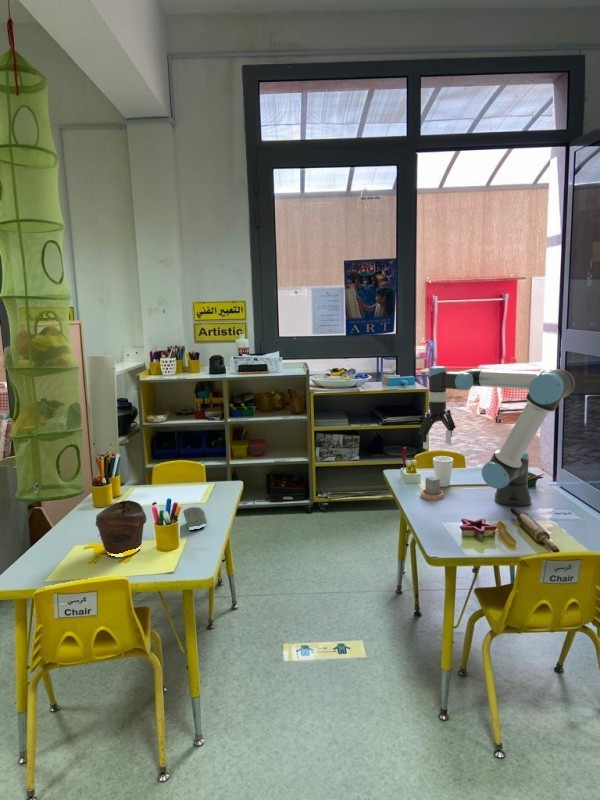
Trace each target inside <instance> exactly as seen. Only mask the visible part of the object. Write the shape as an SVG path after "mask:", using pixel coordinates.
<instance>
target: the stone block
mask: <svg viewBox="0 0 600 800" xmlns="http://www.w3.org/2000/svg"><path fill="white" fill-rule="evenodd" d="M440 487H441V486H440V479H438V478H436V477H435V476H433V475H431V476H427V477H425V488H424V489H425V494H427V495H439V494H440V490H441V489H440Z"/></svg>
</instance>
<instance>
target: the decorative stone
mask: <svg viewBox="0 0 600 800" xmlns="http://www.w3.org/2000/svg"><path fill="white" fill-rule="evenodd" d="M182 513H183V515H184V519H185V522H186V527H187V528H188V527H193V526H200V525H202V524H206V523H207V524H208V519H207V515H206V512H205V509H204V508H202V507H200V506H198V507H197V506H192V507H187V508H186V509H184V510H183V512H182Z"/></svg>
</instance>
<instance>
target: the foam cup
mask: <svg viewBox="0 0 600 800" xmlns="http://www.w3.org/2000/svg"><path fill="white" fill-rule="evenodd" d="M432 464H433V470H434V471H433V472H434V477H436V478H438V479H440V487H441V488H442V487H443V488H444V487H445V488H446V487H450V483H451V480H452V479H451V478H452V471H453V465H454V458H453V457H451V456H448V455H447V456H445V455H438V456H434V457H433V458H432Z"/></svg>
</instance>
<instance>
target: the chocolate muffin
mask: <svg viewBox="0 0 600 800" xmlns="http://www.w3.org/2000/svg"><path fill="white" fill-rule="evenodd" d="M147 520H148V519H147V514H146V513H145V510H144V508H143V506H142V505H141V503H139V502H137V501H134V500H129V499H128V500H121V501H118V502H116V503H113V504H111V505H109V506H107V507H106V508H104V509H103V510H102V511H100V512H99V513H98V514H96V518H95V526H96V527H97V529H98V533H99V535H97V538H99V537H100V540H101V542H102V546H103V548H104V551H105V550H106V551H107V552H109V553H113V554H119V553H123V552H125V551H128V550H132V549H136V548H138V547H139V546H140V545H141V544H142V545H143V543H142V542H143V534H144V533H143V532H144V525H145V524H146V523H147ZM106 556H107V557H109V558H114V559H117V558H116V557H115V556H111V555H108V554H106Z"/></svg>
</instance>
